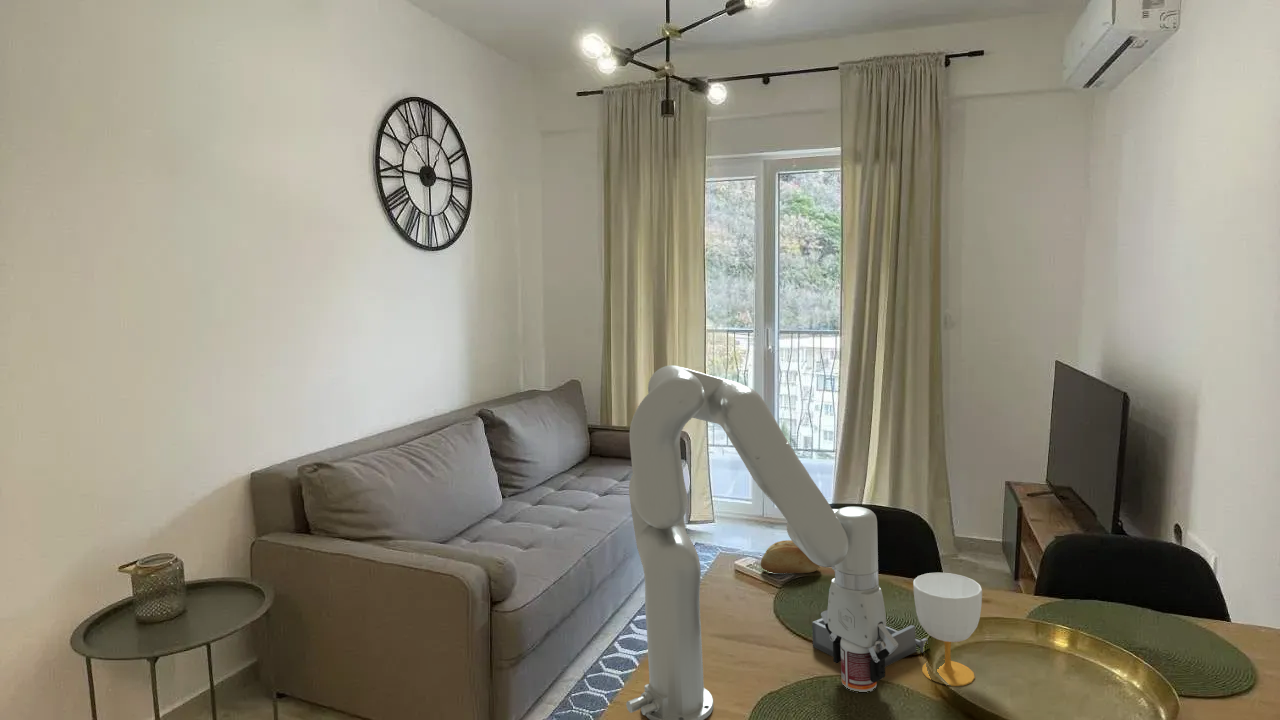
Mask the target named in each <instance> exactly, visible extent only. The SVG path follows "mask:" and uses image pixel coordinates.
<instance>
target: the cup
mask: <svg viewBox="0 0 1280 720" xmlns="http://www.w3.org/2000/svg"><path fill="white" fill-rule="evenodd" d="M912 584H913V595H914V597H913V598H914V605H915V612H916V616H917V619H918V623H919V624H920V625H921V627H922V628H923V630H924V631H925V632H926V633H927V634H928V635H929V636H930V637H932V638H934V639H936V640H938V641H941V642H943V643H944V646H943V647H944V660H945V663H944V664H943V665H942V666H940V667H939V669H937V672H938V673H939V675H940V676H941V677H942V678H943V679H944V680H945V681H946V682H947V683H948V684H949V685H951V686H950V687H962V686H963V687H964V686H967V685H969V684H972V683H973V682H974V680H975V678H976V677H975V672H974V671H973V670H972V669H970V667H968V666H966V665H964V664H962V663H960V662H958V661H955V660H954V661H953V660H952V658H951V654H952V653H951V651H952V643H958V642H963V641H965V640H967V639H969V638H970V637H971V636H972V634H973V633H974V632H975V631H976V629H977V628H978V625H979V622H980V618H981V612H982V604H983V603H982V602H983V590H982V586H981V585H980V583H978V582H977V581H976V580H975V579H972V578H969V577H967V576H964V575H961V574H956V573H950V572H949V573H948V572H929V573H928V572H927V573H924V574H921V575H917V577H915V578H914V580H913V583H912ZM926 663H927V662H925V663H924V664H923V665H922V667H921V670H922V674H923V675H924V676H925V678H927V679H928V680H930V681H932V680H931V678H930V676H929V674H928V671H927V667H926Z"/></svg>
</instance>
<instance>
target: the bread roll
mask: <svg viewBox="0 0 1280 720" xmlns="http://www.w3.org/2000/svg"><path fill="white" fill-rule="evenodd" d="M760 567H761V569H762V568H763V569H765V570H767V571H769V572H773V573H783V574H784V573H785V574H807V573H813V572H816V571H817V570H818V569H819V568H820V567H821V566H819V565H817V564H815V563H813V562H812V561H811V560H810V559H809V558H808V557H807V556H806V555H805V554H804V553H803V552H802V551H801V550H800V549H799V548H798V547H797V546H796V545H795V544H794V543H793V541H792V540H791V539H788V540H780V541H777V542H775V543H773V544H771V545H770V546H769V547H768V548H767V549H766V550H765V553H764V554H763V556H762V558H761V561H760Z"/></svg>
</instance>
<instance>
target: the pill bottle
mask: <svg viewBox="0 0 1280 720" xmlns="http://www.w3.org/2000/svg"><path fill="white" fill-rule="evenodd" d="M840 648H841V662H840V671H841V675H840V677H841V683H842V686H843V685H844V686H845V687H846V688H845V687H844V686H843V687H844V688H845V689H847V688H848V689H850V690H849V691H851V690H854V691H859V692H867V691H870V692H873V691H874V690H875V689H876V688H877V685H878V681H877V682H875V683H873V682H871V680H870V661H871V660H872V659H873V658H872V656H871V654H870V651H869V649H868V648H864V647H861V646H859V645H857V644H855V643H852V642H850V641H848V640H846V639H844V638H841V641H840ZM875 648H876V645H875ZM874 688H875V689H874ZM848 689H847V690H848ZM873 689H874V690H873ZM854 691H853V692H854ZM867 693H868V692H867Z"/></svg>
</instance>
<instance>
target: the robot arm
mask: <svg viewBox="0 0 1280 720" xmlns="http://www.w3.org/2000/svg"><path fill="white" fill-rule="evenodd" d="M648 381H649V382H648V384H647V392H648V393H647V394H646V396H644V398H643V399H642V400H641V402H640V403H639V405H638V406H637V408H636V409H635V412H634V414H633V415H632V419H631V422H630V426H629V427H630V428H629V449H630V459H631V468H632V474H631V476H630V480H629V484H628V495H629V496H628V497H629V502H630V503H629V504H630V509H631V510H630V511H631V517H632V523H633V528H634V529H633V530H634V535H635V543H636V548H637V552H638V555H639V557H640V561H641V565H642V569H643V575H644V606H645V607H644V609H645V611H644V613H645V626H646V640H647V642H646V643H647V658H648V675H649V678H648V679H649V683H647V684H645V685H644V692H642V693H641V694H640V696H638V697H635V698H633V699H630V700H628V701H626V703H625V704H626V709H627V712H629V713H630V714H632V713H634V712H637V711H639V710H640V712H641V714H642V715H643V716H645V717H646V718H647V719H648V720H705V719H707V718H708V717H709V716H710V715H711V713H712V712H713V710H714V698H713V695H712V694H711V692H710V691H709V690H708V689H706V688H705V684H704V665H703V663H704V662H703V646H702V645H703V643H702V642H703V640H702V624H701V623H702V622H701V605H700V604H701V601H700V596H701V595H700V594H701V580H702V578H701V577H702V575H701V574H702V572H701V571H702V569H701V561H700V558H699V555H698V551H697V550H696V547H695V545H694V544H693V542H692V540H691V539H690V537H689V535H688V534H687V530H686V529H687V528H686V525H685V518H684V517H685V515H686V512H687V510H688V504H689V503H688V502H689V501H688V498H689V497H688V493H687V488H686V482H685V476H684V470H683V464H682V454H681V435H682V432H683V430H684V427H685V426H686V424H687V423H688V422H690V420H691V419H695V420H700V421H704V422H708V423H713V424H716V425H719V426H721V428H722V429H723V431H724V433H725V434H726V436H727V438H728V439H729V441H730V443H731V444H732V446H733V448H735V451H736V452H737V454H738V455H739V457H740V459H741V461H742V462H743V464H744V466H745V467H746V468H747V469H746V470H747V471H748V472H749V474H750V476H751V478H752V479H753V481H754V482H755V484H757V486H758V487H759V489H760V490H761V491H762V493H763V494H764V495H765V496H766V497H768V499H769V500H770V501H771V502H772V503H773V504H774V505H775V507H776V508H777V509H778V510H779V512H780V513H781V514H782V516H783V517H784V519H785V520H786V522H787V523H786V531H787V535H788V537H789V540H792V541H793V543H794V544H795V545H796V546H797V547H798V548H799V549H800V550H801V551H802V552H803V553H804V554H805V555H806V556H807V557H808V558H809V559H810V560H811V561H812V562H813V563H815V564H817V565H819V566H820V567H824V568H830V567H831V569H832V570H833V571H834V578H832V579H831V583H830V587H829V589H830V591H829V590H828V601H827V603H828V604H827V609H826V610H824V611H821V613H820V616H821V618H822V619H823V621H824V623H825V627H826V629H827V630H828V632H829V634H830V640H831V641H833V657H832V658H833V663H835V664H839V663H841V648H840V641H841V638H844V639H846V640H848V641H850V642H852V643H855V644H857V645H859V646H861V647H864V648H868V649H869V651H870V654H871V656H872V658H873V659H872V660H871V661H870V680H871V682H873V683H875V682H877V683H878V681H881V680H883V679H885V677H886V667H885V658H887V657H888V656H890V655H891V654H892V653H893V651H895V649H896V648H897V647H898V643H897V641H896V640H895V639H894V638H893V636H892V635H891V633H889V631H888V630H887V629H886V626H887V618H886V617H887V616H886V608H885V602H884V601H885V600H884V596H883V592H882V589H881V587H880V586H879V561H878V560H879V555H878V554H879V552H878V551H879V550H878V544H879V543H878V519H877V515H876V513H874V511H872V510H871V509H869V508H866V507H862V506H845V507H840V508H832V507H831V505H830V503H829V502H828V501H827V499H826V497H825V496H824V494H823V492H822V491H821V490H820V488H819V487H818V486H817V484H816V482H815V481H814V479H813V478H812V477H811V475H810V474H809V472H808V470H807V469H806V467H805V466H804V464H803V463H802V462H801V460H800V459H799V457H798V456H797V454H796V453H795V451H794V449H793V448H792V446H791V445H790V443H789V441H788V440H787V438H786V435H784V432H783V431H782V429H781V427H780V426H779V423H778V422H777V421H776V419H775V417H774V415H773V413H772V412H771V410H770V408H769V407H768V405H767V403H766V402H765V400H764V399H763V398H762V396H761V395H760V394H759V392H757V391H756V390H755V389H753V388H751V387H749V386H747V385H745V384H743V383H742V382H741V383H740V382H739V381H734V380H729V379H726V378H722V377H718V376H714V375H710V374H706V373H703V372H700V371H696V370H692V369H689V368H686V367H683V366H679V365H673V364H672V365H664V366H663V367H660V368H658V369H657V370H656V371H655V372H654V373H653V374H652V375H651V377H650V379H649V380H648ZM883 641H884V642H885V643H886V647H885V646H884V644H883ZM875 645H877V647H878V649H879V653H877V650H876V648H875Z"/></svg>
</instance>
